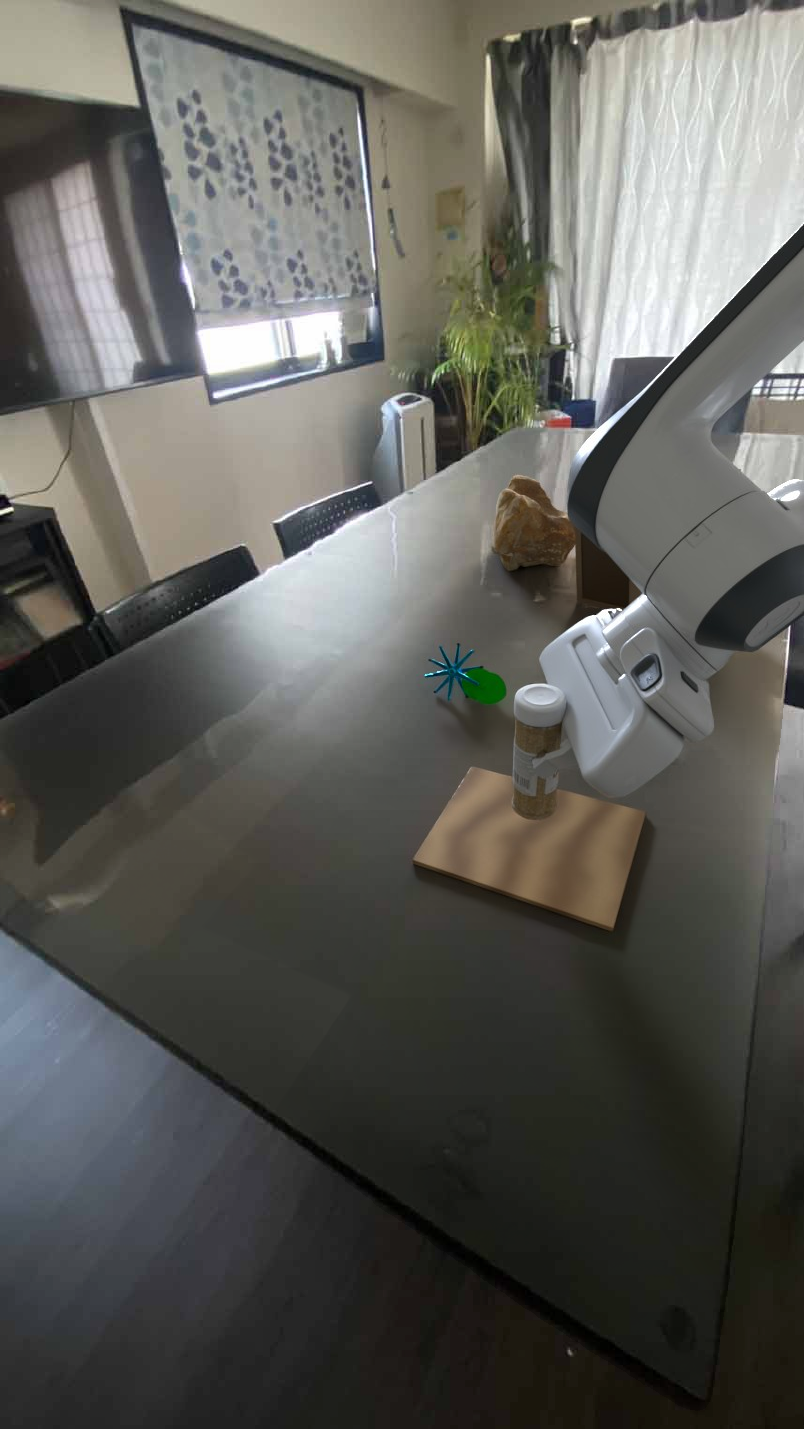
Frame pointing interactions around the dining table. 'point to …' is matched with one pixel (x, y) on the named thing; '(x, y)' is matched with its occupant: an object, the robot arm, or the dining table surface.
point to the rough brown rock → (530, 527)
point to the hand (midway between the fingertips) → (530, 751)
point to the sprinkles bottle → (536, 748)
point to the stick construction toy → (470, 679)
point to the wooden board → (536, 848)
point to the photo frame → (601, 577)
